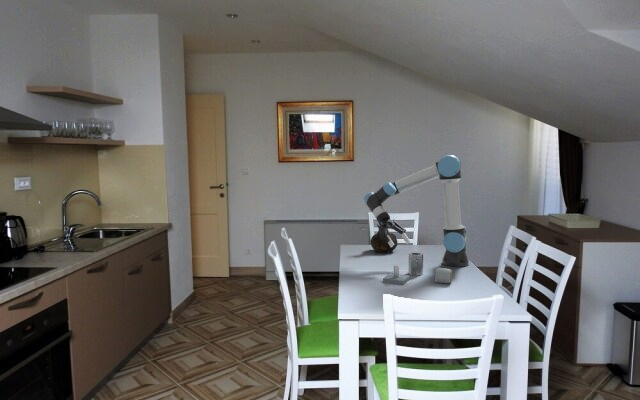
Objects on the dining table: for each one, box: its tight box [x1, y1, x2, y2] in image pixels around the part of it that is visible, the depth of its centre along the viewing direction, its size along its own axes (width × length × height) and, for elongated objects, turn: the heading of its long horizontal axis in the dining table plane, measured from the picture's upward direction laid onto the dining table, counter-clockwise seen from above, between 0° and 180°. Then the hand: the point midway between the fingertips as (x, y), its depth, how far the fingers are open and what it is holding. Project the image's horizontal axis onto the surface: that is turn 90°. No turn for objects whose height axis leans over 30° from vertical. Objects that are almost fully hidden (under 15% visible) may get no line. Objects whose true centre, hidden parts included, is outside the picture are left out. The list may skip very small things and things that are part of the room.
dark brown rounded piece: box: [369, 210, 398, 254], centre depth 304 cm, size 18×18×28 cm
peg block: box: [382, 264, 411, 286], centre depth 235 cm, size 11×11×8 cm
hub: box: [408, 251, 424, 276], centre depth 249 cm, size 7×7×11 cm
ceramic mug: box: [434, 267, 453, 284], centre depth 233 cm, size 11×8×8 cm
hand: (400, 244), depth 256 cm, fingers open, 13 cm apart
